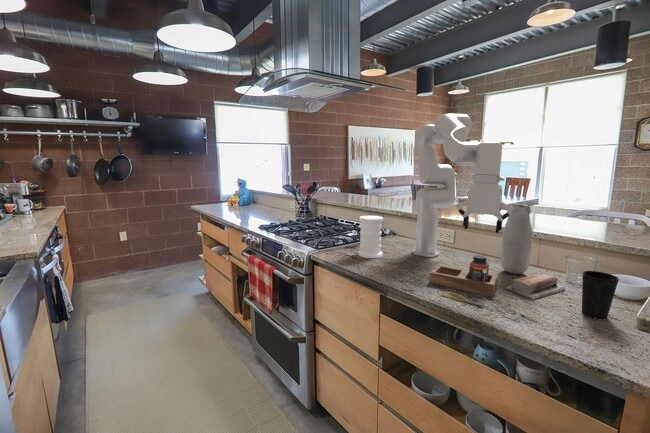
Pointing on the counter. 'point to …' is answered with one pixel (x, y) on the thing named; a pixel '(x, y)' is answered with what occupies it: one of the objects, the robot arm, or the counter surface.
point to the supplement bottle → (479, 268)
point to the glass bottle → (517, 240)
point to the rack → (462, 280)
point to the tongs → (461, 299)
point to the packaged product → (536, 285)
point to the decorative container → (370, 236)
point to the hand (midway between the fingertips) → (481, 230)
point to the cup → (597, 293)
